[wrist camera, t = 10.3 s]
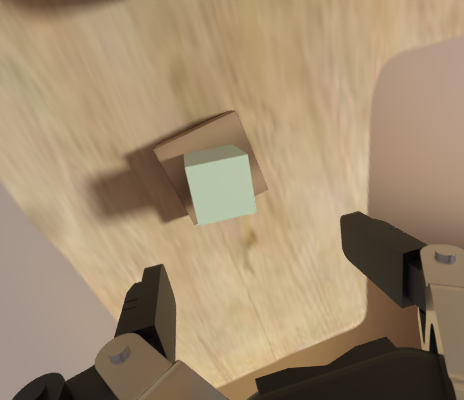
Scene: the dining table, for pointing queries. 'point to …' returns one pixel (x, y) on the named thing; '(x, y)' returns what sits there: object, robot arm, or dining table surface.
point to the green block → (220, 183)
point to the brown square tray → (201, 138)
